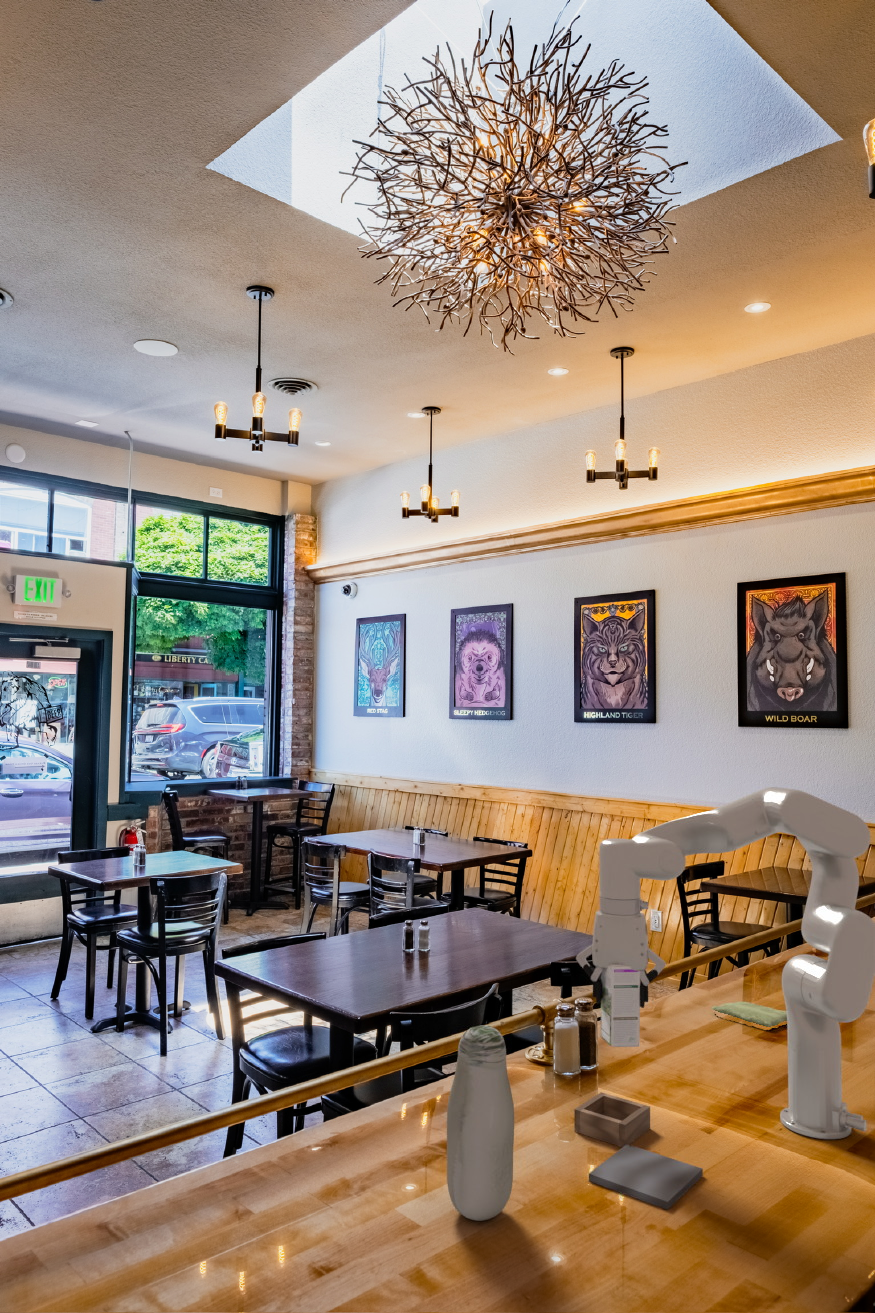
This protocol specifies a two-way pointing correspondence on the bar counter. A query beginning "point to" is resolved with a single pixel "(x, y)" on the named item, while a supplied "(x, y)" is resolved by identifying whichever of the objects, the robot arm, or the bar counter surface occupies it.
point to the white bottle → (480, 1126)
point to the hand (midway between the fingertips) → (620, 1003)
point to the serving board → (646, 1176)
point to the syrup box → (620, 1006)
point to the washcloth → (753, 1013)
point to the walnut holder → (612, 1119)
